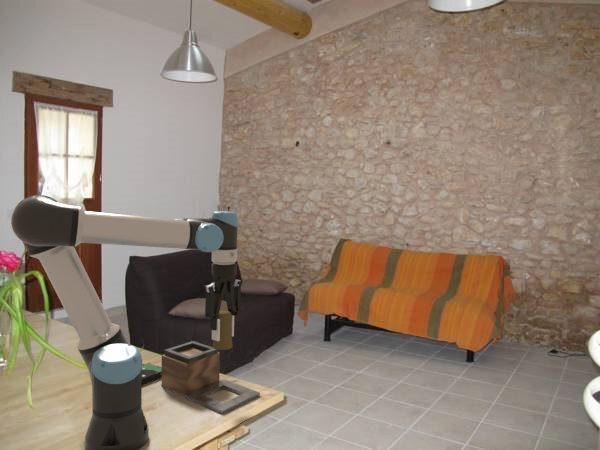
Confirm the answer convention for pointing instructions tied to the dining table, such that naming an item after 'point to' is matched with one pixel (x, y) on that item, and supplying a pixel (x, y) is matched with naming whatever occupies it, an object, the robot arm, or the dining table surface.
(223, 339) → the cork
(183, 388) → the raised stand
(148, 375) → the disk drive
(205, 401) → the low frame
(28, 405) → the dining table surface
